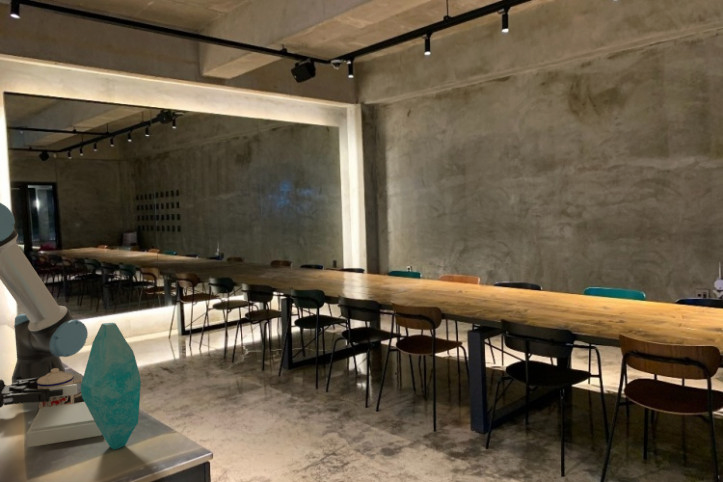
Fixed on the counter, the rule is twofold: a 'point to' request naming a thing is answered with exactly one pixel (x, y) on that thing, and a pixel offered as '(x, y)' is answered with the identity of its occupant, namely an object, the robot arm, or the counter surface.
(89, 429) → the plinth
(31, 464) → the counter surface
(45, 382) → the teacup with lid
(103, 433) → the crystal
